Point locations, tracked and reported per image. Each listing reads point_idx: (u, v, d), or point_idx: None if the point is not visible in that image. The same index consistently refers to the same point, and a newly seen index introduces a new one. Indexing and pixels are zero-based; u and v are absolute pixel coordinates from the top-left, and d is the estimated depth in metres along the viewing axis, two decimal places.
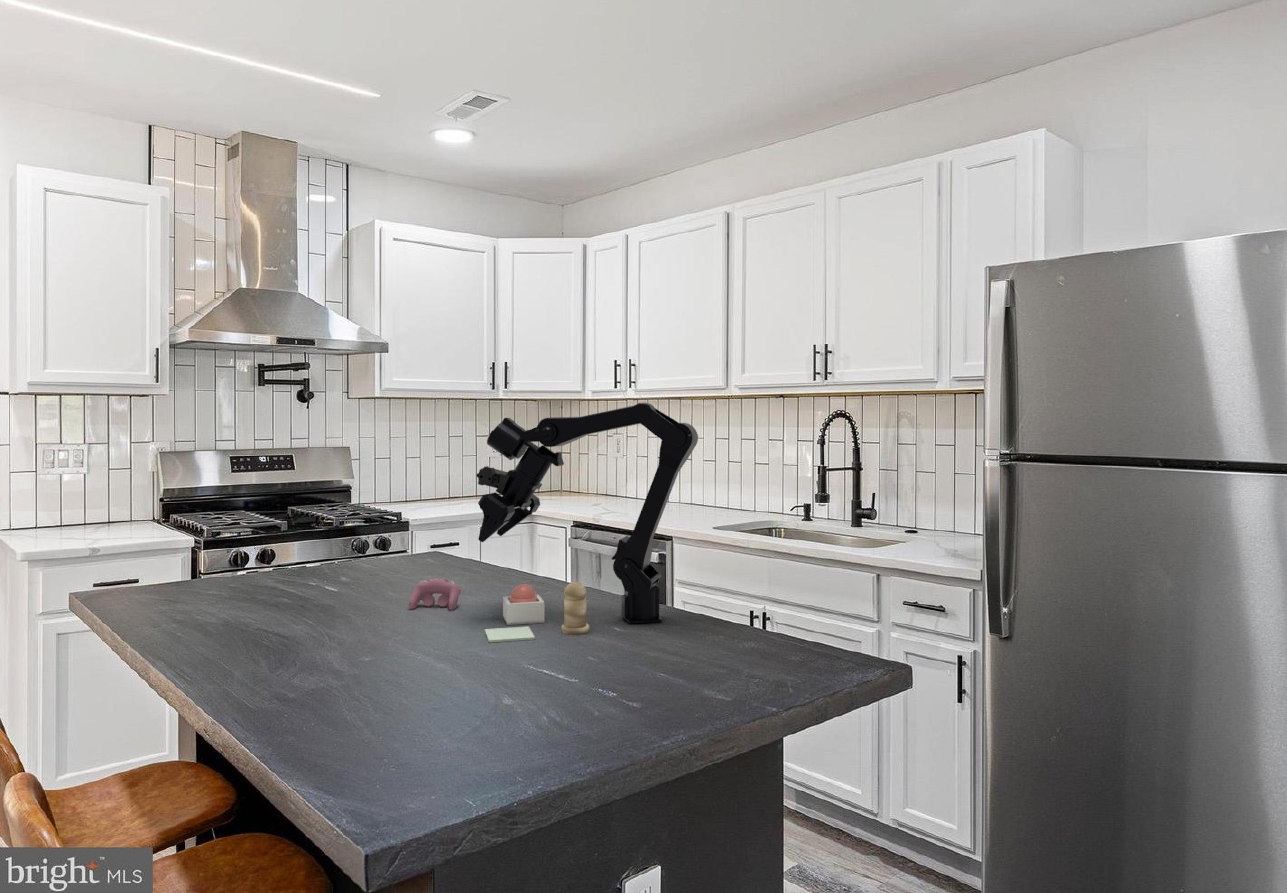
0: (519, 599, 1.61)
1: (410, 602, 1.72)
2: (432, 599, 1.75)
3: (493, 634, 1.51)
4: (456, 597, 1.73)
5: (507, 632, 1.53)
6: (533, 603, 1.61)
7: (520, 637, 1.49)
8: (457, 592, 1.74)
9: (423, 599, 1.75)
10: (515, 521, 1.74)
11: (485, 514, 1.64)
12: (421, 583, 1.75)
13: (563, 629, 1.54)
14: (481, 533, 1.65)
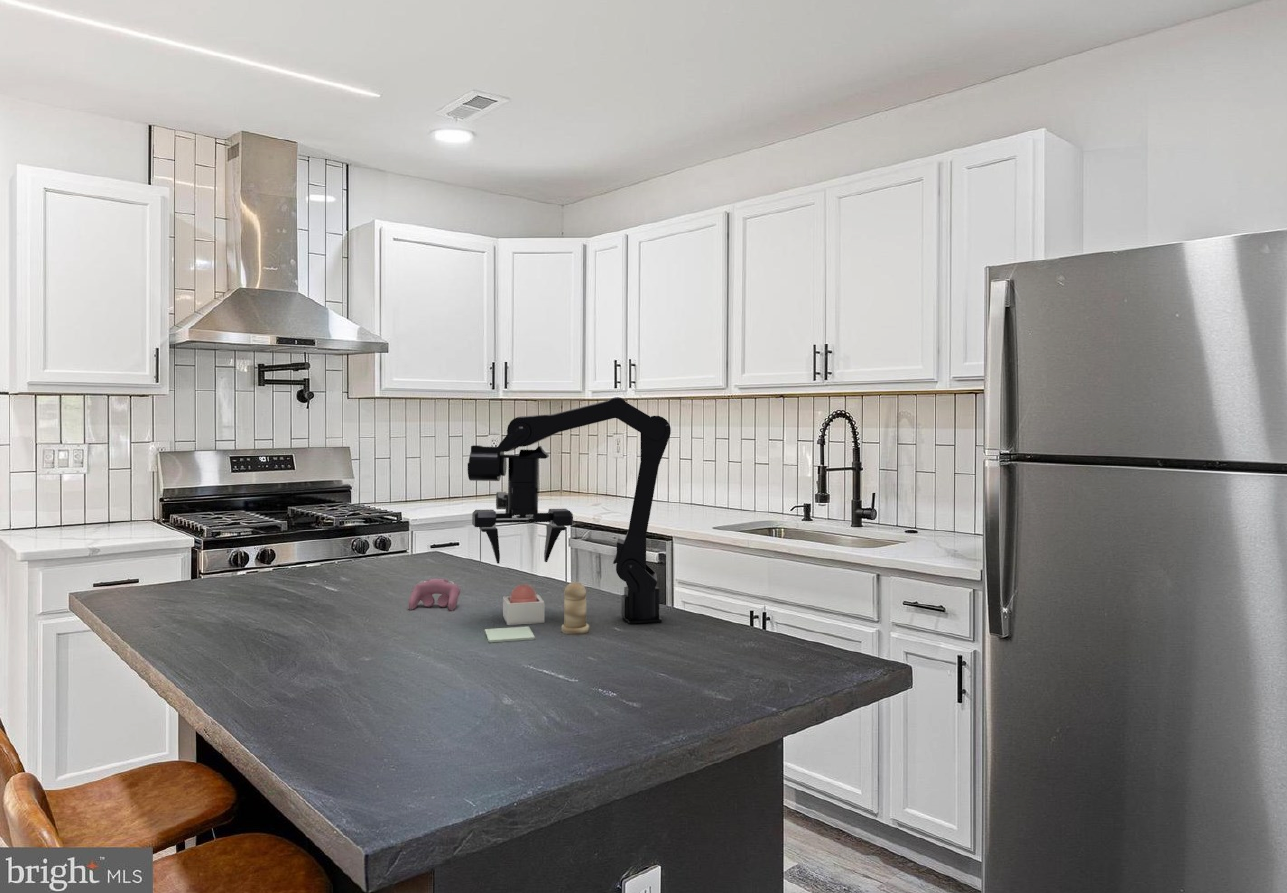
0: (519, 599, 1.61)
1: (410, 602, 1.72)
2: (432, 599, 1.75)
3: (493, 634, 1.51)
4: (456, 597, 1.73)
5: (507, 632, 1.53)
6: (533, 603, 1.61)
7: (520, 637, 1.49)
8: (457, 592, 1.74)
9: (423, 599, 1.75)
10: (548, 540, 1.63)
11: (487, 533, 1.63)
12: (421, 583, 1.75)
13: (563, 629, 1.54)
14: (494, 554, 1.62)
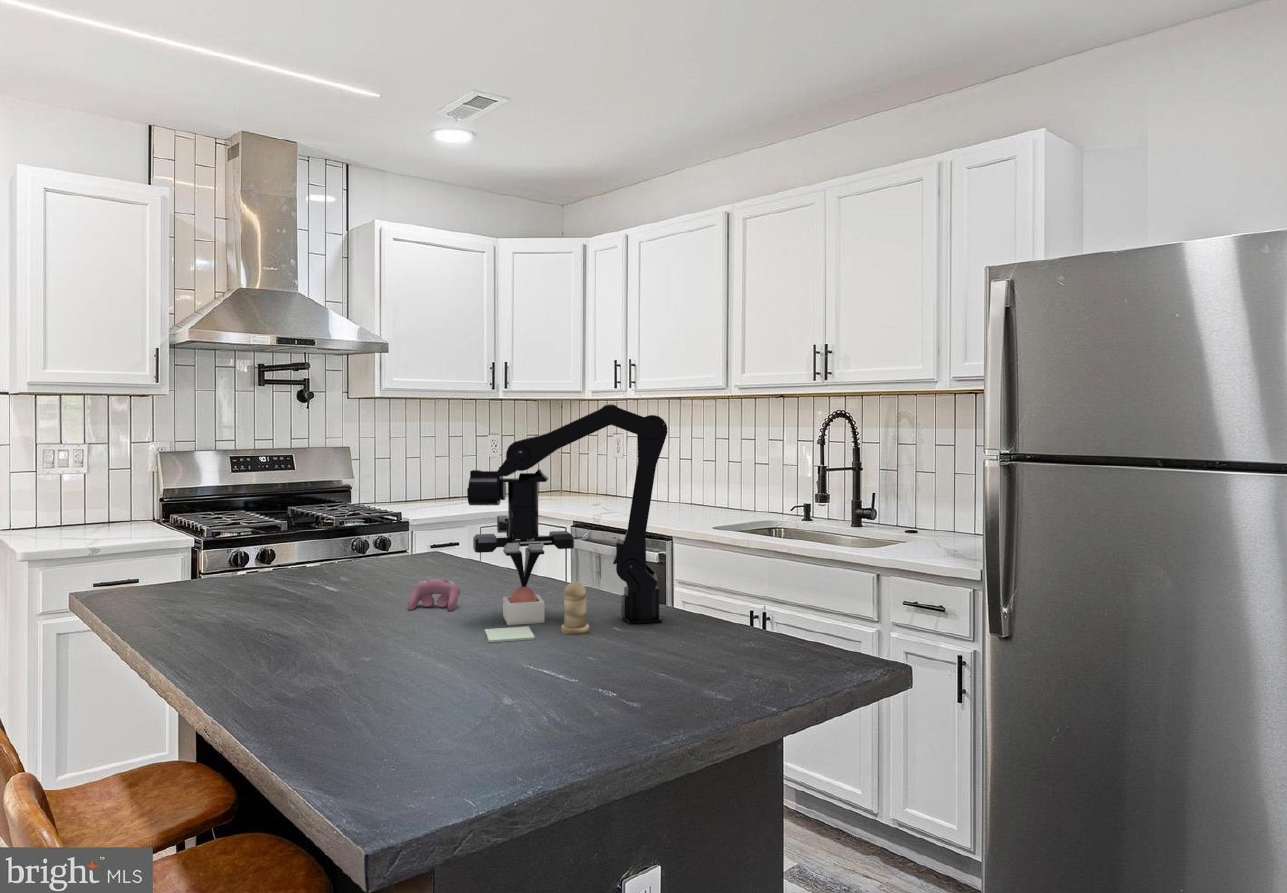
0: (519, 601, 1.61)
1: (409, 602, 1.72)
2: (431, 600, 1.75)
3: (493, 634, 1.51)
4: (455, 598, 1.73)
5: (507, 632, 1.53)
6: (533, 603, 1.61)
7: (520, 637, 1.49)
8: (456, 593, 1.74)
9: (422, 599, 1.75)
10: (526, 565, 1.62)
11: (511, 556, 1.64)
12: (420, 583, 1.75)
13: (563, 629, 1.54)
14: (519, 577, 1.64)
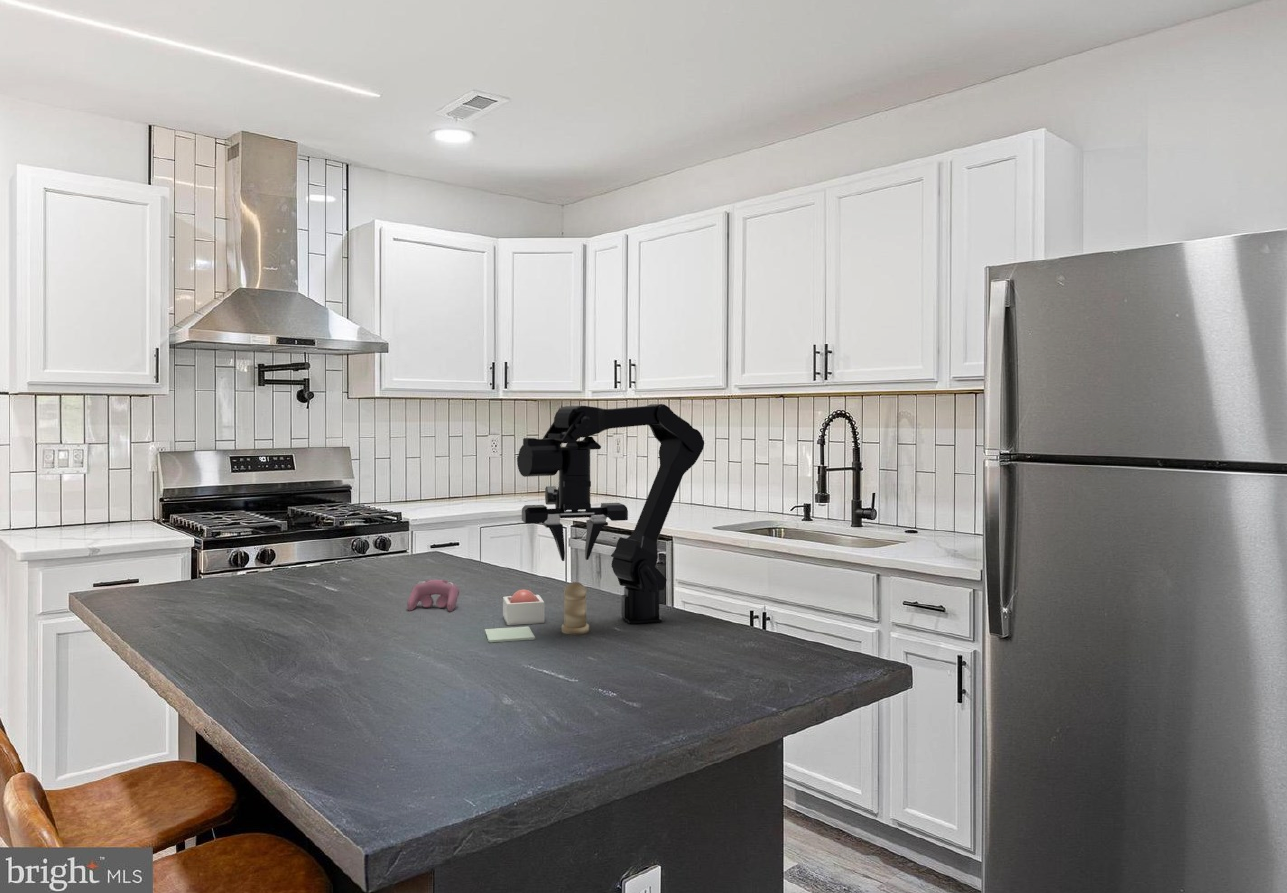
0: None
1: (408, 603, 1.71)
2: (431, 600, 1.74)
3: (493, 634, 1.51)
4: (455, 598, 1.72)
5: (507, 632, 1.53)
6: (533, 603, 1.61)
7: (520, 637, 1.49)
8: (456, 593, 1.73)
9: (421, 600, 1.74)
10: (589, 537, 1.54)
11: (551, 529, 1.55)
12: (419, 584, 1.74)
13: (563, 629, 1.54)
14: None
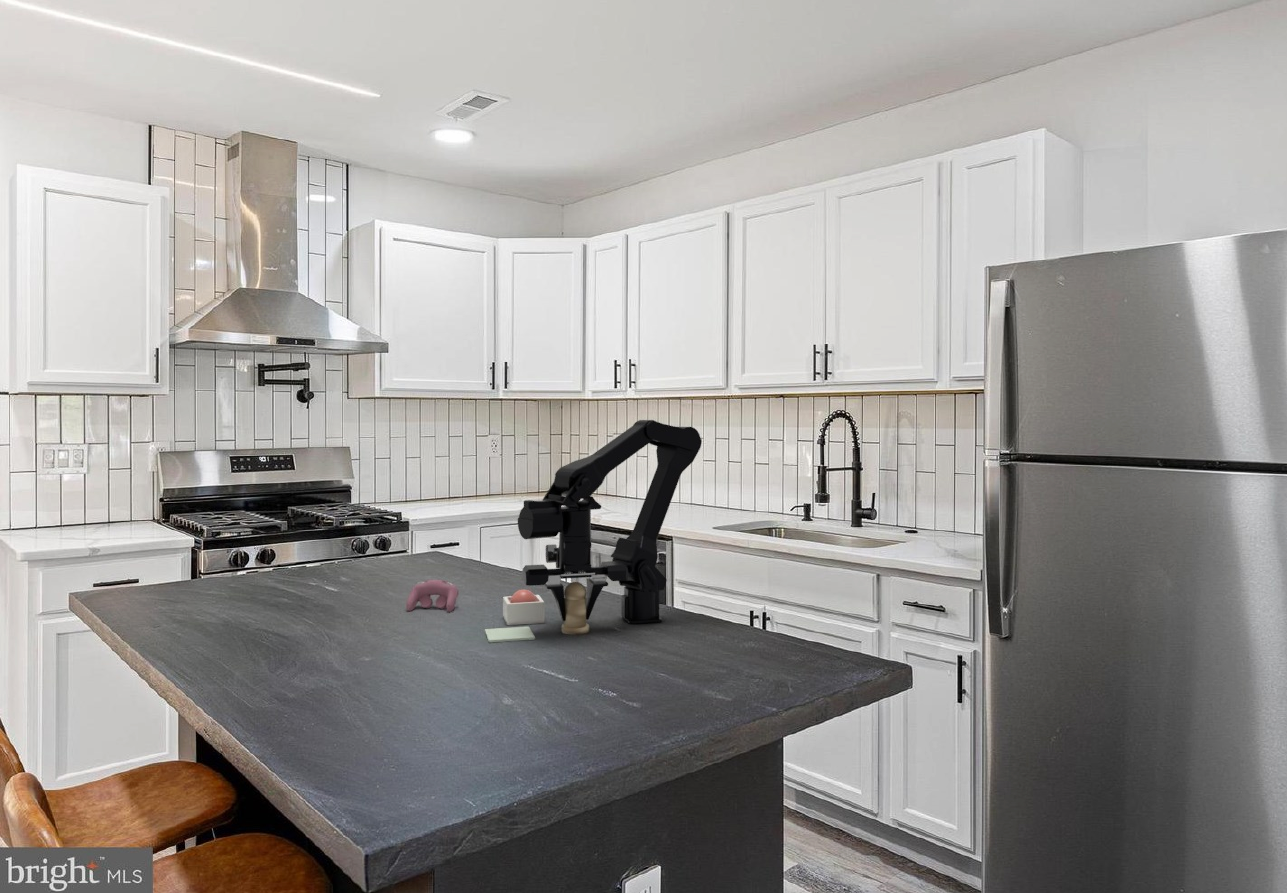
0: None
1: (408, 603, 1.71)
2: (430, 600, 1.74)
3: (493, 634, 1.51)
4: (454, 598, 1.72)
5: (507, 632, 1.53)
6: (533, 603, 1.61)
7: (520, 637, 1.49)
8: (455, 593, 1.73)
9: (421, 600, 1.74)
10: (589, 597, 1.54)
11: (551, 589, 1.55)
12: (419, 584, 1.74)
13: (563, 629, 1.54)
14: (559, 611, 1.55)
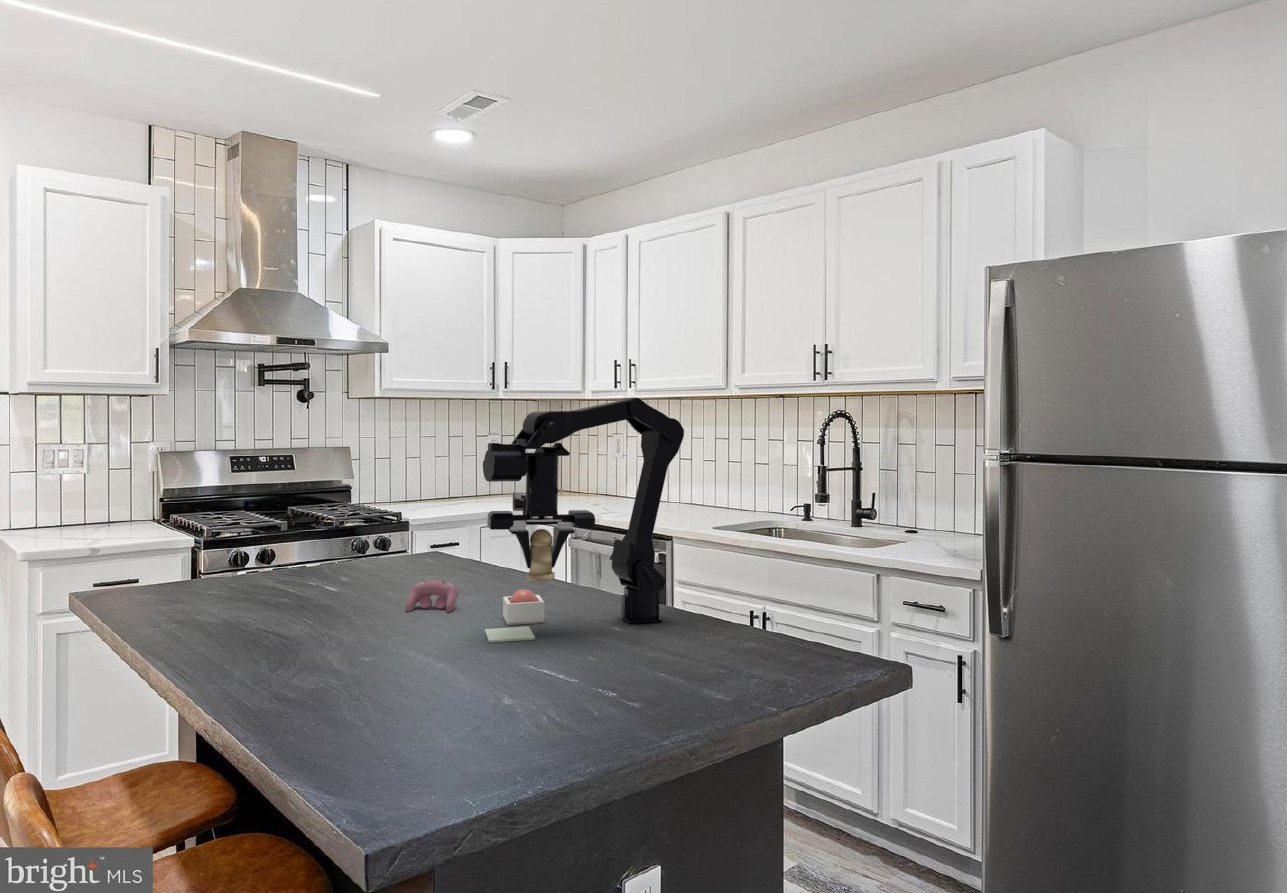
0: None
1: (407, 604, 1.71)
2: (429, 601, 1.73)
3: (493, 634, 1.51)
4: (454, 599, 1.72)
5: (507, 632, 1.53)
6: (533, 603, 1.61)
7: (520, 637, 1.49)
8: (455, 594, 1.73)
9: (420, 601, 1.73)
10: (555, 544, 1.52)
11: (517, 535, 1.53)
12: (418, 585, 1.74)
13: (528, 576, 1.52)
14: (524, 558, 1.53)
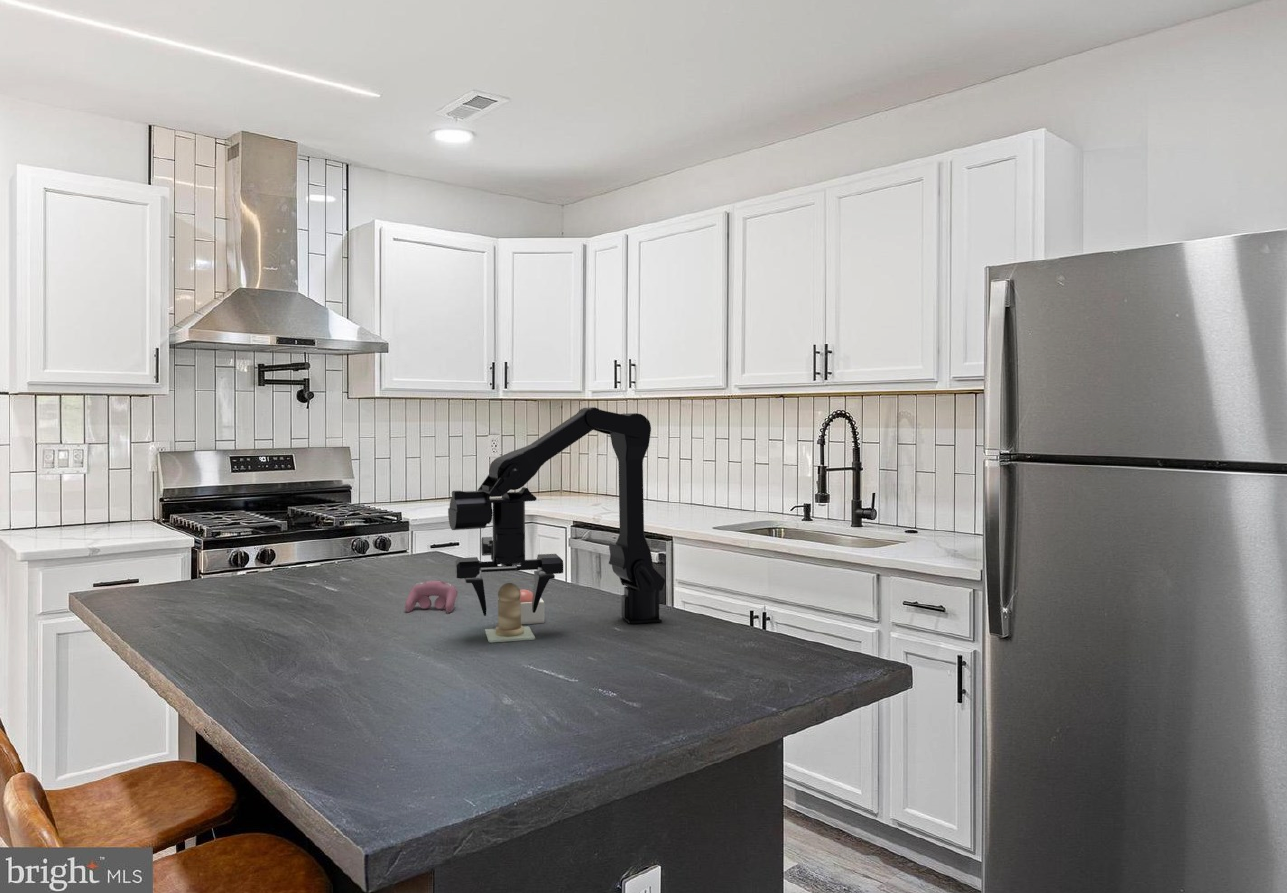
0: None
1: (406, 604, 1.70)
2: (429, 601, 1.73)
3: (493, 634, 1.51)
4: (453, 599, 1.71)
5: None
6: None
7: (520, 637, 1.49)
8: (454, 594, 1.72)
9: (419, 601, 1.73)
10: (535, 590, 1.52)
11: None
12: (417, 585, 1.73)
13: (496, 631, 1.51)
14: None
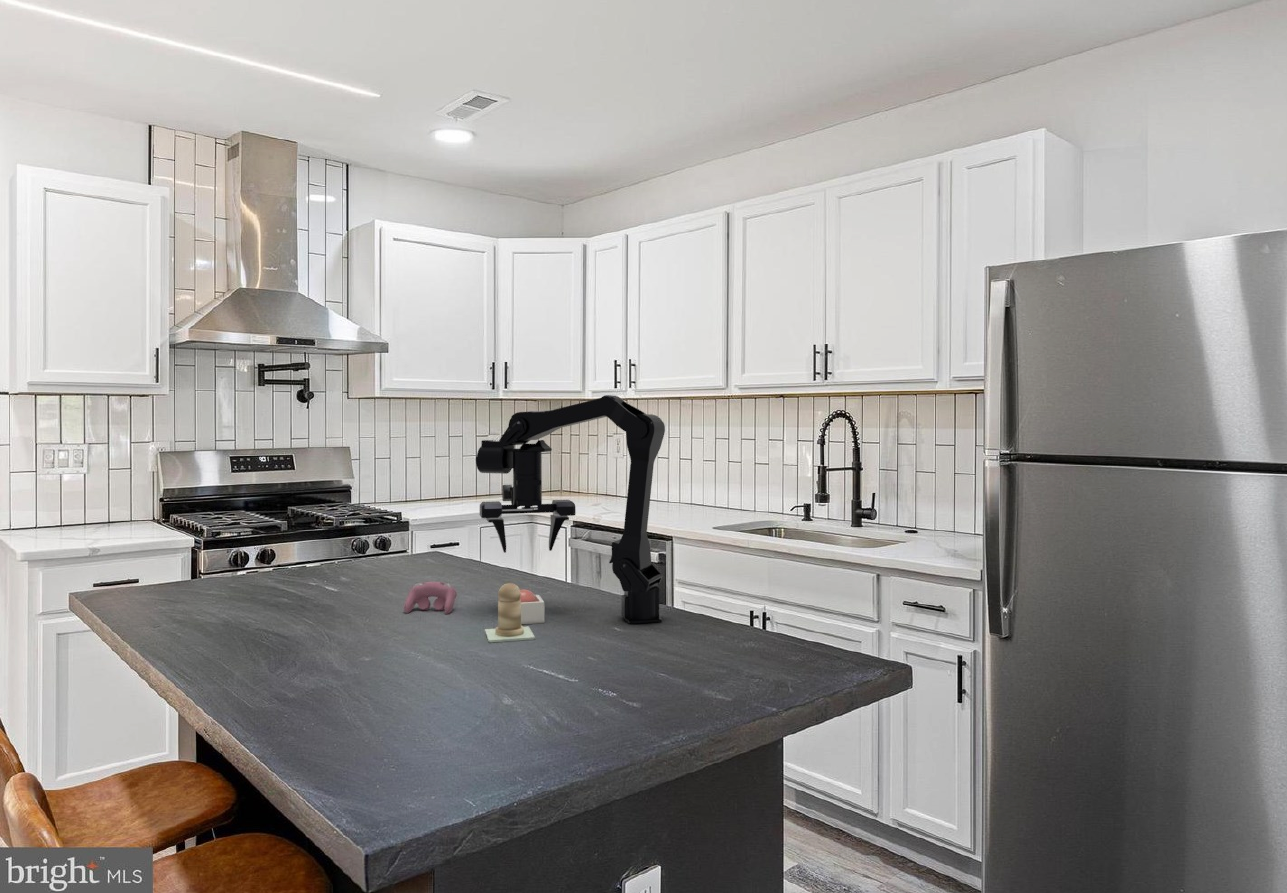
0: None
1: (405, 605, 1.69)
2: (428, 602, 1.72)
3: (493, 634, 1.51)
4: (452, 600, 1.70)
5: None
6: (533, 603, 1.61)
7: (520, 637, 1.49)
8: (453, 595, 1.71)
9: (418, 602, 1.72)
10: (552, 530, 1.71)
11: (494, 523, 1.71)
12: (416, 586, 1.72)
13: (496, 631, 1.51)
14: (501, 544, 1.71)
